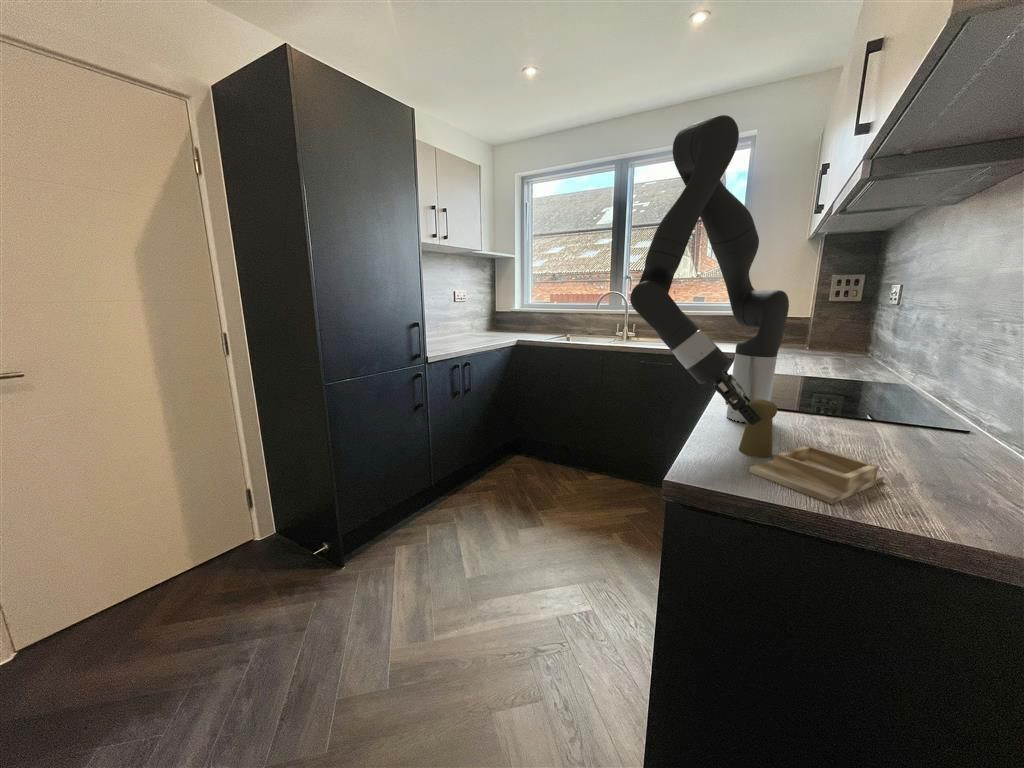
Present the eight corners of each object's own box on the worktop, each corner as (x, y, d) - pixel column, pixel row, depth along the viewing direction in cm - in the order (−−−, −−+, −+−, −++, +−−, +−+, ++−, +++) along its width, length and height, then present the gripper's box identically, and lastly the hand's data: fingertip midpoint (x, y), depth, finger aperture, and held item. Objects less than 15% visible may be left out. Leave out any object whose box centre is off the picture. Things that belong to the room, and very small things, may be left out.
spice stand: (802, 455, 82) (805, 439, 81) (883, 481, 71) (887, 462, 70) (749, 471, 73) (752, 453, 73) (831, 504, 62) (836, 483, 61)
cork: (738, 453, 82) (746, 401, 80) (738, 444, 87) (745, 395, 85) (773, 459, 79) (782, 406, 77) (770, 450, 84) (779, 399, 82)
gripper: (715, 348, 77) (776, 414, 74) (716, 341, 89) (768, 398, 87) (682, 372, 80) (740, 437, 77) (687, 363, 93) (736, 418, 90)
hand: (754, 416), depth 82 cm, fingers open, 8 cm apart
